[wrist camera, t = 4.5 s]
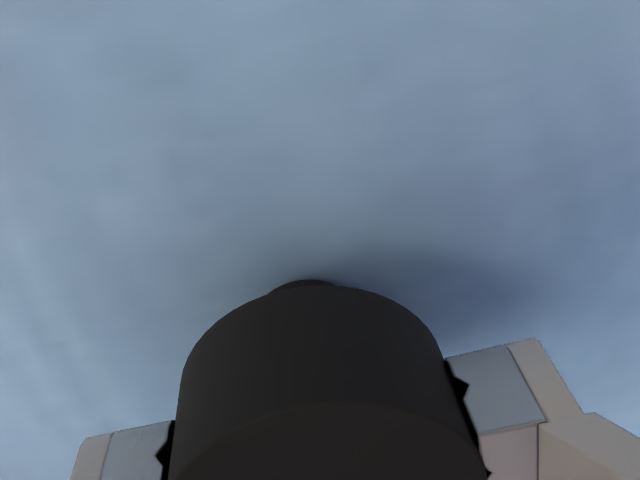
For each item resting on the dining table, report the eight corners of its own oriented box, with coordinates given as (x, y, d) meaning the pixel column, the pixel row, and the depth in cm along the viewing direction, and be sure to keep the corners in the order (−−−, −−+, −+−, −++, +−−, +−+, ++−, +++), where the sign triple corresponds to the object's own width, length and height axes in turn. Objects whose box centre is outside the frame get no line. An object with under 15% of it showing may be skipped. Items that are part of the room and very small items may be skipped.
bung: (227, 420, 13) (219, 623, 10) (155, 256, 11) (108, 449, 7) (428, 375, 13) (495, 564, 10) (403, 199, 11) (480, 367, 7)
